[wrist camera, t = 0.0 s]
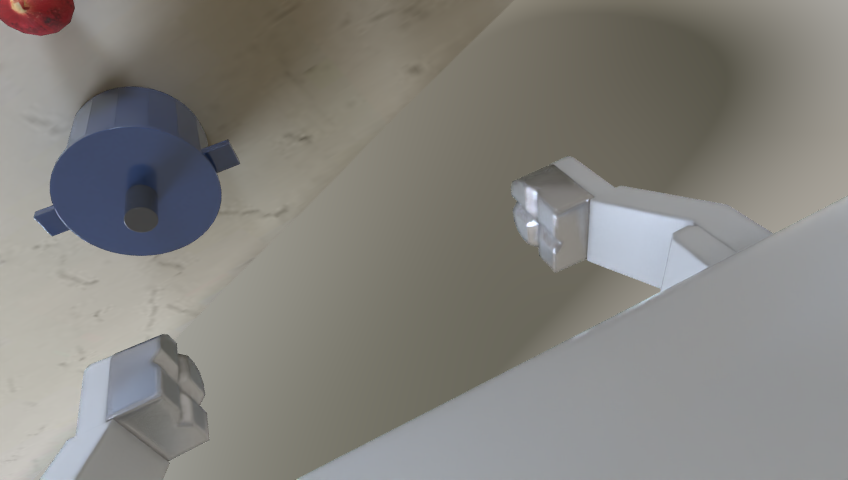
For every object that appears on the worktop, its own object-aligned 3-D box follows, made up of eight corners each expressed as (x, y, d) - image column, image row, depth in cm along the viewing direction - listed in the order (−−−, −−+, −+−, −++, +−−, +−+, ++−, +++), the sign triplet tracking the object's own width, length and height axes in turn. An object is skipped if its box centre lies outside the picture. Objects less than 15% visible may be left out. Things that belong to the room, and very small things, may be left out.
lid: (11, 156, 40) (-3, 188, 37) (175, 98, 43) (178, 123, 39) (112, 268, 50) (109, 303, 46) (243, 215, 52) (250, 244, 48)
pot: (12, 122, 47) (-14, 175, 40) (195, 59, 51) (203, 97, 43) (95, 219, 56) (86, 278, 48) (248, 160, 59) (262, 207, 52)
